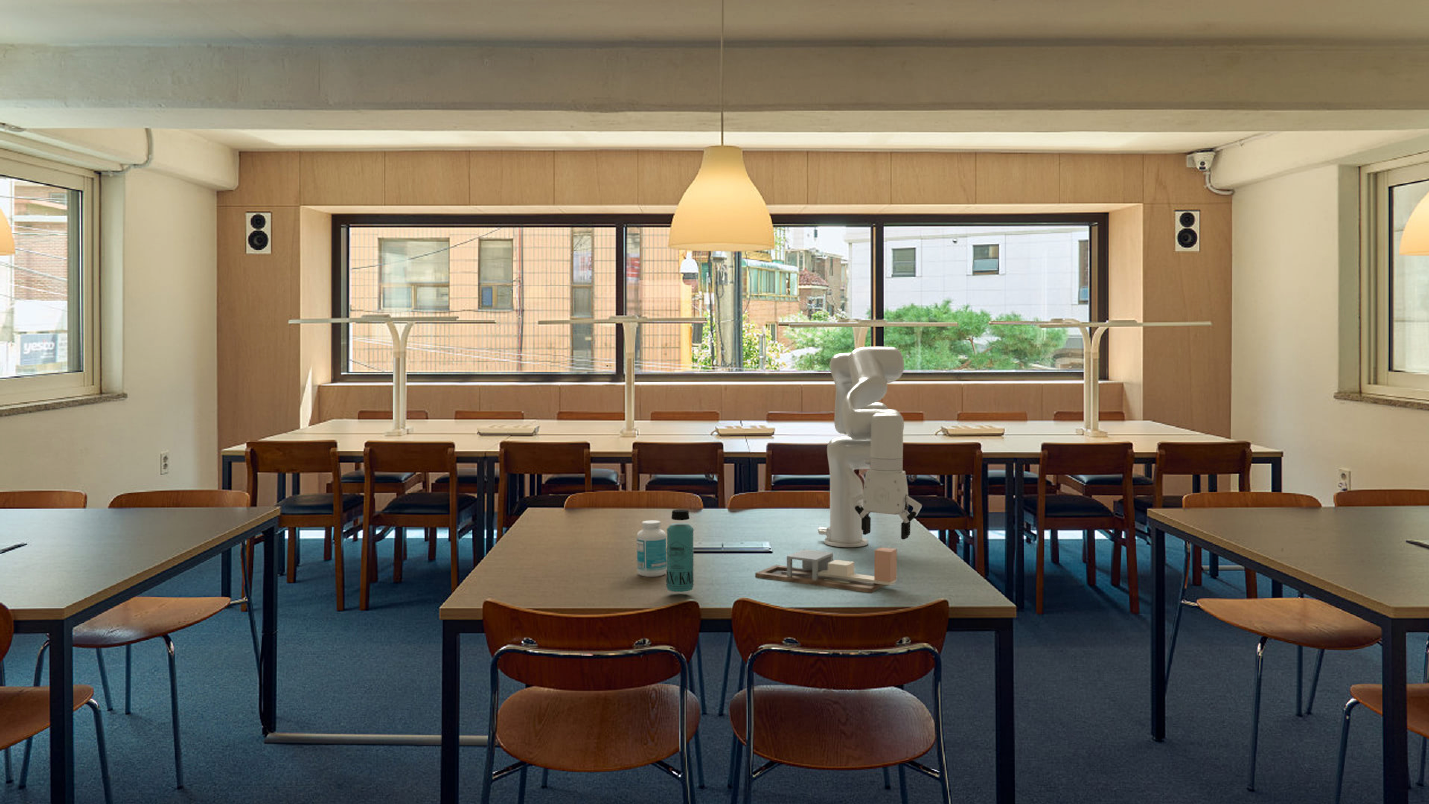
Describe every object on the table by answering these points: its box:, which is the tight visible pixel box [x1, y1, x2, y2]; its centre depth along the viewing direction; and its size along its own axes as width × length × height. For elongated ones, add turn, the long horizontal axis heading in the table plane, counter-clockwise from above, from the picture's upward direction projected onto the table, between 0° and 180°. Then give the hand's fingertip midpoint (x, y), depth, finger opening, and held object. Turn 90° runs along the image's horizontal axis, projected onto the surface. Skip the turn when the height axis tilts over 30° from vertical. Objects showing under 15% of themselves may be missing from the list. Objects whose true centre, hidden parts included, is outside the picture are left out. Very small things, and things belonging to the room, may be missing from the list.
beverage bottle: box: [665, 508, 695, 593], centre depth 227 cm, size 6×7×20 cm
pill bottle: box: [636, 519, 667, 578], centre depth 249 cm, size 8×7×14 cm
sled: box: [818, 547, 898, 586], centre depth 237 cm, size 19×5×8 cm, turn 58°
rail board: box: [754, 564, 885, 594], centre depth 243 cm, size 31×11×2 cm, turn 58°
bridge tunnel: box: [786, 549, 834, 580], centre depth 244 cm, size 8×10×5 cm
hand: (885, 536), depth 234 cm, fingers open, 9 cm apart
